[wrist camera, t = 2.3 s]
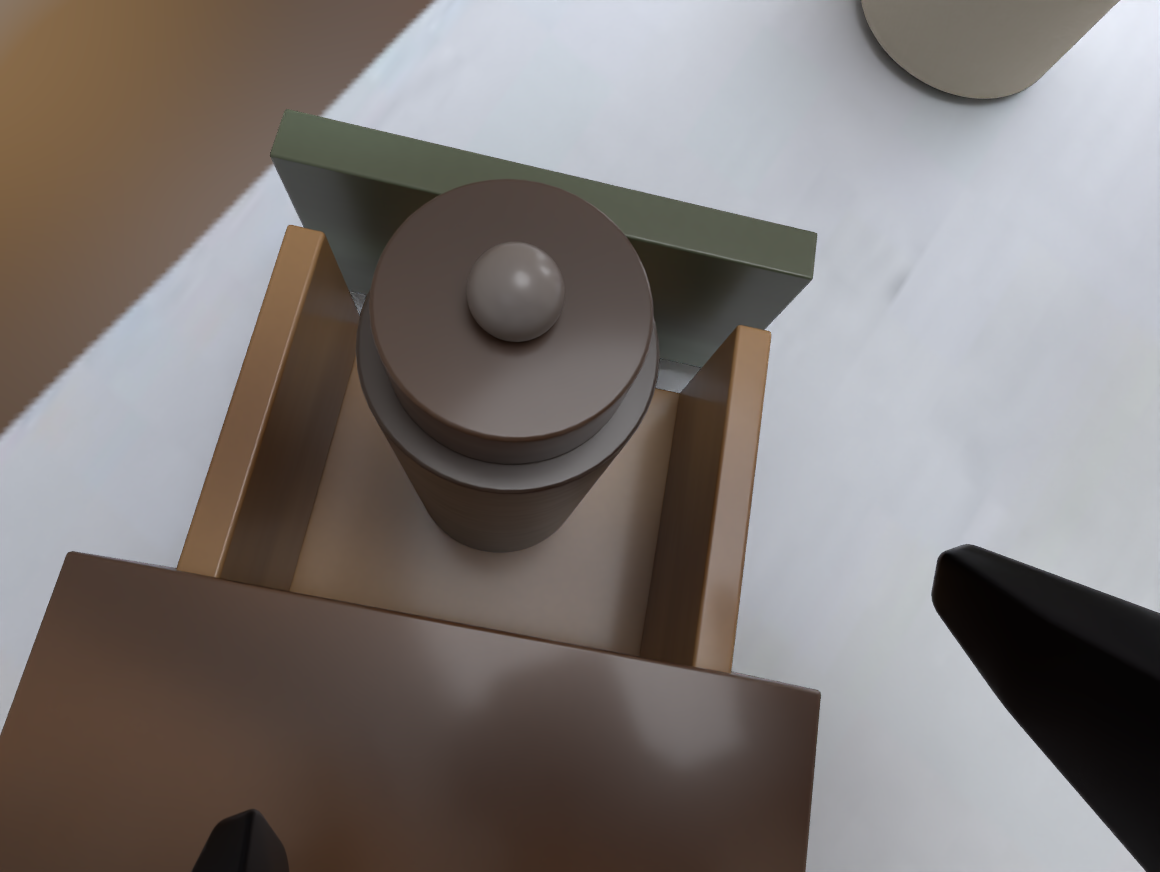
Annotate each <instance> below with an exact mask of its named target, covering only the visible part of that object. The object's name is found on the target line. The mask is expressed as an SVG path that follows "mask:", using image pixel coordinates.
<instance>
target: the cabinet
mask: <svg viewBox="0 0 1160 872" xmlns="http://www.w3.org/2000/svg"><path fill="white" fill-rule="evenodd" d="M820 699H821V694H820V692H819V691H818V690H815V689H810V688H806V687H801V686H797V685H792V684H787V683H783V682H778V681H773V680H769V679H764V678H759V677H755V676H750V675H745V674H741V673H736V672H731V673H726V672H721V671H715V670H710V669H705V668H699V667H694V666H688V665H683V664H678V663H672V662H667V661H662V660H656V659H651V658H646V657H640V656H635V655H629V654H624V653H619V652H613V651H608V650H603V649H597V648H592V647H587V646H581V645H576V644H570V643H565V642H560V641H554V640H549V639H544V638H538V637H533V636H528V635H522V634H517V633H511V632H506V631H501V630H495V629H490V628H485V627H479V626H474V625H469V624H463V623H458V622H452V621H447V620H442V619H436V618H431V617H426V616H420V615H415V614H410V613H404V612H399V611H393V610H388V609H383V608H377V607H372V606H367V605H361V604H356V603H351V602H345V601H340V600H335V599H329V598H324V597H318V596H313V595H308V594H302V593H297V592H292V591H286V590H281V589H276V588H270V587H265V586H259V585H254V584H249V583H243V582H238V581H233V580H227V579H222V578H217V577H211V576H206V575H200V574H195V573H190V572H184V571H179V570H176V568H173V567H166V566H160V565H154V564H148V563H142V562H136V561H130V560H124V559H118V558H111V557H105V556H99V555H93V554H87V553H81V552H75V551H72V552H68V553H67V555H66V557H65V560H64V563H63V566H62V568H61V571H60V574H59V577H58V579H57V582H56V585H55V587H54V590H53V593H52V596H51V598H50V601H49V604H48V607H47V609H46V612H45V615H44V618H43V620H42V623H41V626H40V629H39V631H38V634H37V637H36V639H35V642H34V645H33V648H32V650H31V653H30V656H29V659H28V661H27V664H26V667H25V670H24V672H23V675H22V678H21V680H20V683H19V686H18V689H17V691H16V694H15V697H14V700H13V702H12V705H11V708H10V711H9V713H8V716H7V719H6V721H5V724H4V727H3V730H2V732H1V735H0V872H191V871H192V869H193V867H194V865H195V863H196V861H197V859H198V857H199V855H200V853H201V851H202V849H203V847H204V845H205V843H206V841H207V839H208V837H209V835H210V834H211V832H212V830H213V828H214V827H215V826H216V824H217V823H218V822H220V821H221V820H223V819H224V818H227V817H230V816H233V815H235V814H238V813H241V812H243V811H246V810H249V809H256V810H259V811H260V812H261V813H262V815H263V816H264V818H265V819H266V820H267V822H268V823H269V825H270V826H271V828H272V829H273V831H274V832H275V833H276V835H277V836H278V838H279V839H280V841H281V842H282V844H283V846H284V848H285V851H286V854H287V858H288V864H289V872H805V870H806V859H807V847H808V836H809V824H810V813H811V802H812V790H813V779H814V767H815V756H816V744H817V733H818V721H819V710H820Z"/></svg>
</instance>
